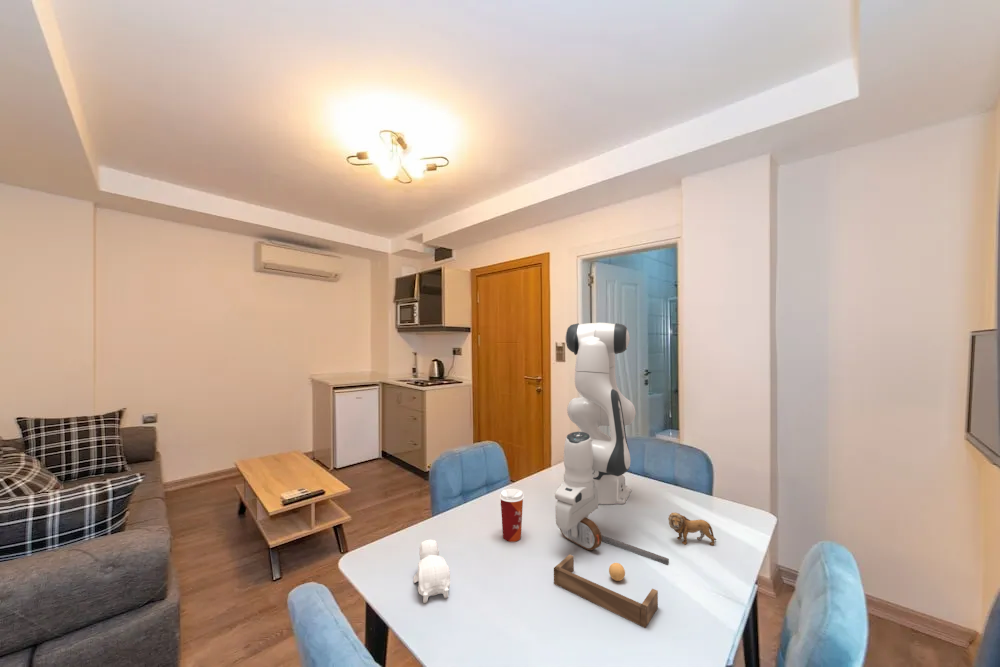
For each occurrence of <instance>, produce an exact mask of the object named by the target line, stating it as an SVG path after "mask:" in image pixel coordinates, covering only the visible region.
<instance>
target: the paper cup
mask: <svg viewBox="0 0 1000 667" xmlns="http://www.w3.org/2000/svg"><path fill="white" fill-rule="evenodd" d="M499 499H500V507H501V508H500V511H501V513H500V514H501V527H502V529H501V530H502V537H503V540H504V541H506V542H510V543H516V542H518V541H520V540H521V537H522V524H523V523H522V522H523V507H524V506H523V504H524V499H525V495H524V493H523V490H520V489H518V488H506V489H503V490H502V491H501V493H500V495H499Z"/></svg>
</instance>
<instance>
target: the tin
mask: <svg viewBox="0 0 1000 667" xmlns="http://www.w3.org/2000/svg"><path fill="white" fill-rule="evenodd" d="M577 529H578V530H579V535H578V536H577V537H574V536H572V534H571V529H569V530H568V531H566V530H563V529H560V528H559V531H560V533H561V534H562V536H563V537H564V538H565V539H567V540H568V541H570V542H572V543H573V544H576V545H577V546H579V547H581V548H583V549H584V550H587V551H593V550H595V549H597V548H599V547H600V546H601V544H602V542H603V541H602V536H601V535H602V532H601V530H600V528H599V526H598V525H597V523H596V522H594V520H592V519H590V518H589V517H588V518H586V517H585V518H584V519H582V520H581V521H580V522H579V523H578V526H577Z"/></svg>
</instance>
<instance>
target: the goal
mask: <svg viewBox="0 0 1000 667" xmlns="http://www.w3.org/2000/svg"><path fill="white" fill-rule="evenodd" d="M574 562H575V560H574V555H572V554H568V555H567V556H566V557H565V558H564V559H563V560H561V561H560V562H559V563H558V564H557V565H555V566H554V567H553V585H556V586H558V587H559V588H562V589H564V590H566V591H568V592H570V593H572V594H574V595H576V596H578V597H581V598H583V599H584V600H586V601H588V602H590V603H593V604H595V605H597V606H599V607H600V608H603V609H606V610H607V611H610V612H611V613H614V614H616V615H618V616H620V617H622V618H624V619H626V620H628V621H630V622H632V623H634V624H636V625H638V626H640V627H642V628H645V629H646V628H647V626H648V625H649V623H650V622H651V620H652V618H653V616H654V615H655V614H656V612H657V610H658V608H659V599H658V598H659V596H658V595H659V590H657V589H656V588H651V590H650V591H649V592H648V594H647V596H646V597H645V599H644V600H643V601H642V603H641V602H639V601H636V600H634V599H632V598H629V597H627V596H625V595H623V594H621V593H618V592H616V591H614V590H611V589H610V588H607V587H605V586H603V585H601V584H599V583H596V582H594V581H592V580H589V579H588V578H584V577H582V576H580V575H578V574H575V573H573V572H574V570H575V569H574V568H575V566H574Z"/></svg>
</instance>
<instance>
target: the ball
mask: <svg viewBox="0 0 1000 667" xmlns="http://www.w3.org/2000/svg"><path fill="white" fill-rule="evenodd" d="M608 573H609V576H610V577H611V579H612V580H614V581H616V582H619V581H623V579H624V578H625V576H626V570H625V567H624V566H623V565H622V564H621V563H619V562H613V563H611V564H610V565H609V568H608Z"/></svg>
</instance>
